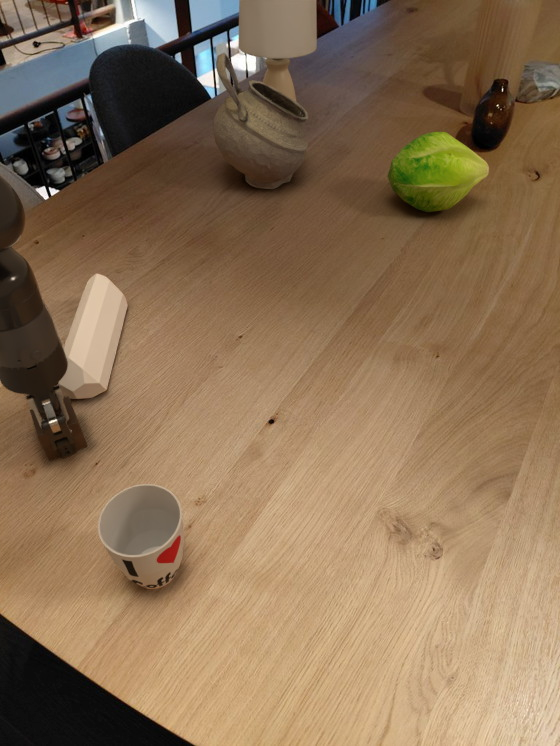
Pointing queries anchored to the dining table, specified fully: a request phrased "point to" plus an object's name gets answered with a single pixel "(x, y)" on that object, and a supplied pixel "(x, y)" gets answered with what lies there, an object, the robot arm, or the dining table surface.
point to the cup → (144, 534)
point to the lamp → (278, 36)
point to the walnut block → (72, 425)
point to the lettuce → (435, 172)
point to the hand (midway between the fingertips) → (63, 438)
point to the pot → (259, 130)
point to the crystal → (93, 339)
